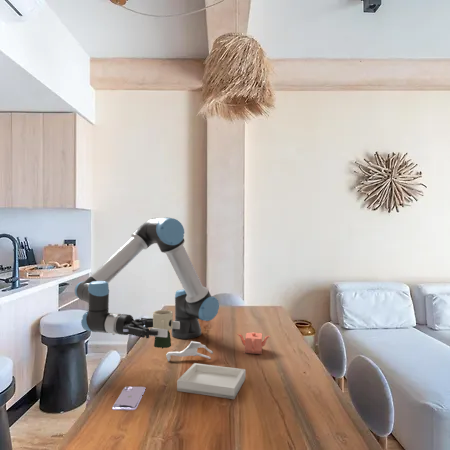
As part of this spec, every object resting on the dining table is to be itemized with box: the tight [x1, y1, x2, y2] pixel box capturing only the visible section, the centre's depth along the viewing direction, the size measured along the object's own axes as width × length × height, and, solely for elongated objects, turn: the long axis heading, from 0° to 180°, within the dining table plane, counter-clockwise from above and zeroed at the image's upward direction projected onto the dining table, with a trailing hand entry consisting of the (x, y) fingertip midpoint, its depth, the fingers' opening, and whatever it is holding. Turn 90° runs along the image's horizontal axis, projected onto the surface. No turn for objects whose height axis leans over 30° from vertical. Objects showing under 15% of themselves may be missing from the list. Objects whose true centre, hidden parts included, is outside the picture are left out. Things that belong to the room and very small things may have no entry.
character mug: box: [152, 309, 174, 349], centre depth 134 cm, size 11×7×13 cm, turn 8°
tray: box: [176, 362, 247, 400], centre depth 127 cm, size 16×20×4 cm
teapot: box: [236, 331, 271, 355], centre depth 161 cm, size 12×15×8 cm
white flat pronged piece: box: [165, 340, 214, 362], centre depth 151 cm, size 2×11×18 cm
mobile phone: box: [111, 386, 146, 411], centre depth 117 cm, size 8×1×15 cm
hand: (173, 329), depth 132 cm, fingers closed on character mug, 10 cm apart
